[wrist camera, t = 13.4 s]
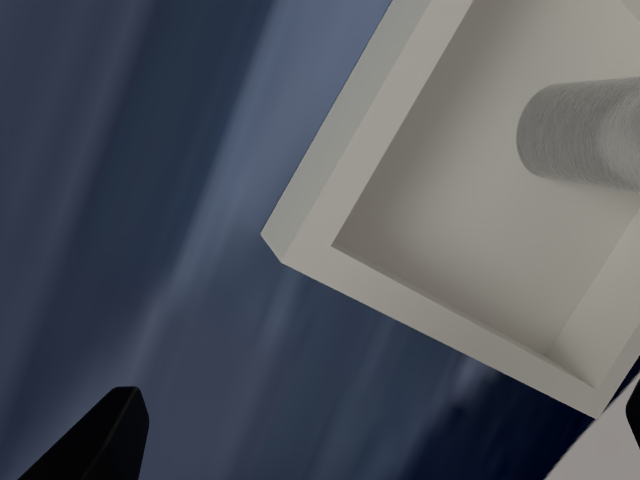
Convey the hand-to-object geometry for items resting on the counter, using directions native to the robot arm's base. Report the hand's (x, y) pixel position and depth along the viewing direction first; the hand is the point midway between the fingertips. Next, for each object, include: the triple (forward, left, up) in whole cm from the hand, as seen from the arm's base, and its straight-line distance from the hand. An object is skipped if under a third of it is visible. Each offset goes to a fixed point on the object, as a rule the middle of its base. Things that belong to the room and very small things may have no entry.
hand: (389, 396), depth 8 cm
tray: (+9, -8, -11) cm, 16 cm away
